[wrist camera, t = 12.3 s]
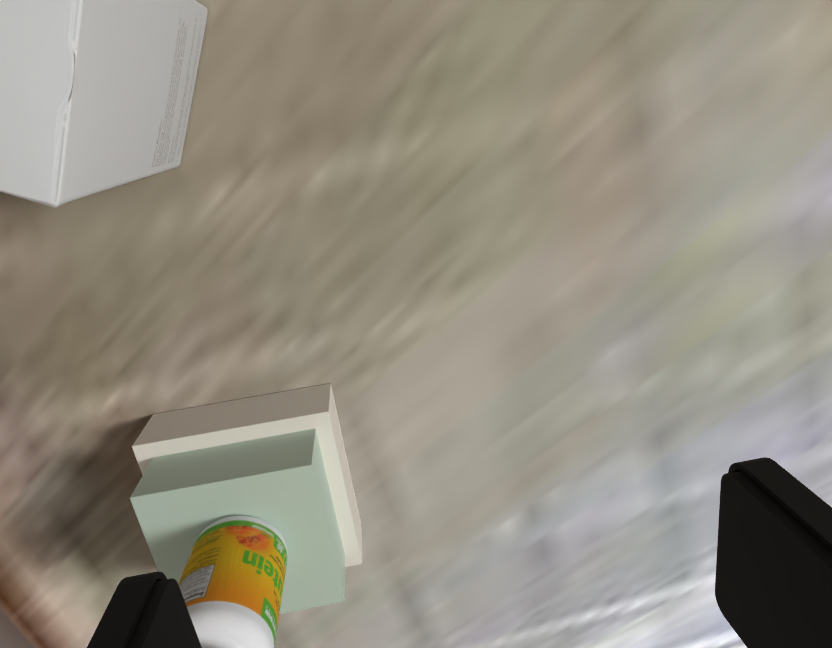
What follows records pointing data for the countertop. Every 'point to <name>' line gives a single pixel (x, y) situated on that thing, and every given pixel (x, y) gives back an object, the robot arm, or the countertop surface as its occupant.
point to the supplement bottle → (235, 583)
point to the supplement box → (93, 93)
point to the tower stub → (254, 485)
